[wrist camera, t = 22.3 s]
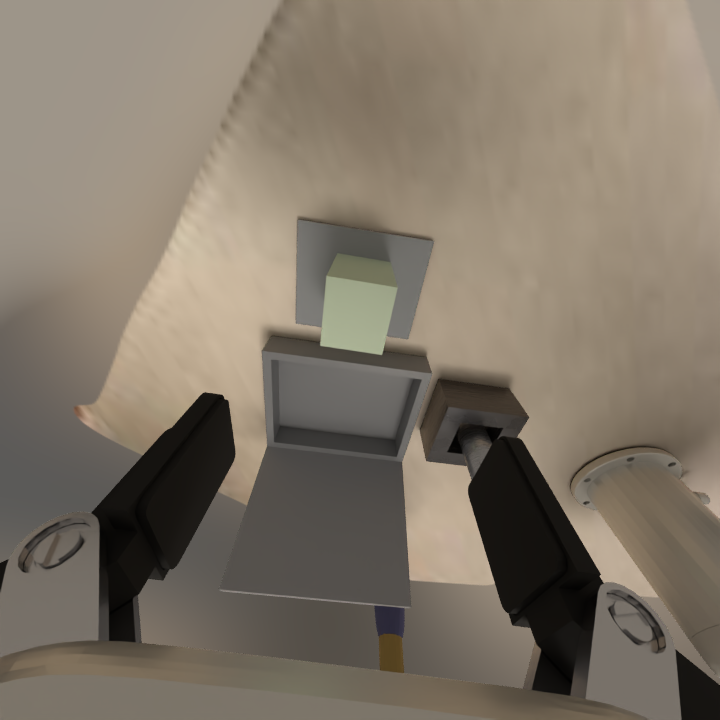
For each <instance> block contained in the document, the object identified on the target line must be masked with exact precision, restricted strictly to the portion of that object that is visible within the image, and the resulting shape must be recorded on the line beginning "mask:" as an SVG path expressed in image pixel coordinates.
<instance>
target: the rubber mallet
mask: <svg viewBox="0 0 720 720" xmlns="http://www.w3.org/2000/svg"><path fill="white" fill-rule="evenodd" d="M374 606H375V618H376V627H377V632H378V636H379V657H380V671H389V672H397V673H404V665H403V650H402V638H403V633H404V608H399V607H388V606H377V605H374Z"/></svg>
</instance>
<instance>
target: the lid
mask: <svg viewBox="0 0 720 720" xmlns="http://www.w3.org/2000/svg"><path fill="white" fill-rule="evenodd" d="M219 590H220V591H225V592H236V593H247V594H257V595H268V596H279V597H290V598H302V599H312V600H323V601H334V602H345V603H356V604H367V605H377V606H388V607H399V608H410V607H411V596H410V580H409V564H408V548H407V533H406V517H405V501H404V485H403V470H402V462H397V461H388V460H380V459H371V458H363V457H354V456H346V455H337V454H329V453H320V452H312V451H304V450H295V449H287V448H278V447H270V446H267V448H266V451H265V454H264V457H263V460H262V463H261V466H260V469H259V472H258V475H257V478H256V481H255V484H254V487H253V490H252V493H251V496H250V499H249V502H248V505H247V508H246V511H245V513H244V517H243V519H242V522H241V525H240V528H239V532H238V534H237V537H236V540H235V543H234V546H233V549H232V552H231V555H230V558H229V561H228V564H227V567H226V570H225V573H224V576H223V579H222V582H221V585H220V588H219Z"/></svg>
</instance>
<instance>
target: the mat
mask: <svg viewBox="0 0 720 720" xmlns="http://www.w3.org/2000/svg"><path fill="white" fill-rule="evenodd" d="M433 244H434V241H432V240H426V239H420V238H414V237H407V236H401V235H395V234H389V233H382V232H376V231H370V230H364V229H357V228H351V227H345V226H338V225H332V224H326V223H320V222H313V221H307V220H301V219H299V220H298V233H297V285H296V324H303V325H310V326H317V327H322V319H323V308H324V297H325V286H326V276H327V274H328V272H329V270H330V268H331V266H332V263H333V261H334V259H335V257H336V255H337V253H340V254H346V255H352V256H358V257H364V258H369V259H375V260H381V261H387V262H391V265H392V269H393V272H394V276H395V279H396V283H397V287H398V289H397V293H396V298H395V302H394V306H393V310H392V315H391V319H390V323H389V328H388V332H387V336H388V337H395V338H402V339H408V338H409V334H410V331H411V327H412V323H413V319H414V315H415V312H416V308H417V304H418V300H419V297H420V293H421V289H422V285H423V281H424V278H425V274H426V270H427V266H428V263H429V259H430V255H431V251H432V247H433Z"/></svg>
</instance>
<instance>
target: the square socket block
mask: <svg viewBox="0 0 720 720" xmlns="http://www.w3.org/2000/svg"><path fill="white" fill-rule="evenodd" d="M528 419H529V416H528V415H527V413H526V412H525V410H524V409H523V408H522V406H521V405H520V403H519V402H518V400H517V399H516V398H515V396H514V395H513V393H512V392H511V390H510V389H508V388H501V387H494V386H486V385H479V384H471V383H464V382H456V381H449V380H441V379H438V382H437V385H436V388H435V390H434V393H433V396H432V399H431V401H430V404H429V407H428V410H427V412H426V415H425V418H424V421H423V423H422V426H421V429H420V434H421V439H422V443H423V448H424V453H425V458H426V461H429V462H438V463H446V464H454V465H463V466H467V464H466V461H465V458H464V455H463V453H462V450H461V447H460V444H459V441H458V438H457V435H456V432H457V430H458V428H459V425H460V423H466V424H474V425H482V426H484V427H485V429H486V431H487V433H488V435H489V438H490V440H491V442H492V443H493V442H494V440H496V439H499V438H500V437H501V436H507V437H514V438H516V437H517V436H518V434H519V433H520V431H521V430H522V428H523V426H524V425H525V423H526V422H527V420H528Z"/></svg>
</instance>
